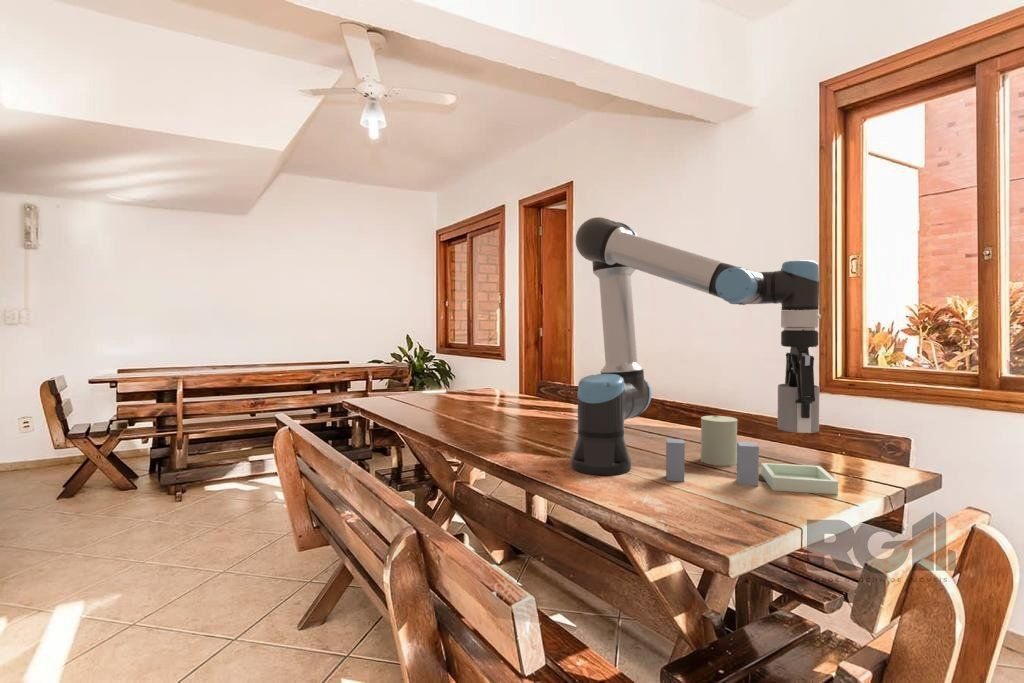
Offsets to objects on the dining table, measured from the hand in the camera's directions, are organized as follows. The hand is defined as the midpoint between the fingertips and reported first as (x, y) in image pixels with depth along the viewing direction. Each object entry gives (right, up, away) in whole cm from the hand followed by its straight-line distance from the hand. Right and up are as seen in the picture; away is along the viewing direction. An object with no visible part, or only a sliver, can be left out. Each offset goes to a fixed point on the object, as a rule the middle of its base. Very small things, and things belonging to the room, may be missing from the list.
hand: (798, 428), depth 126 cm
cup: (0, 0, 0) cm, 0 cm away
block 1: (-27, -13, +5) cm, 30 cm away
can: (-11, -12, +21) cm, 26 cm away
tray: (0, -13, +1) cm, 13 cm away
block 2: (-11, -13, +1) cm, 17 cm away
